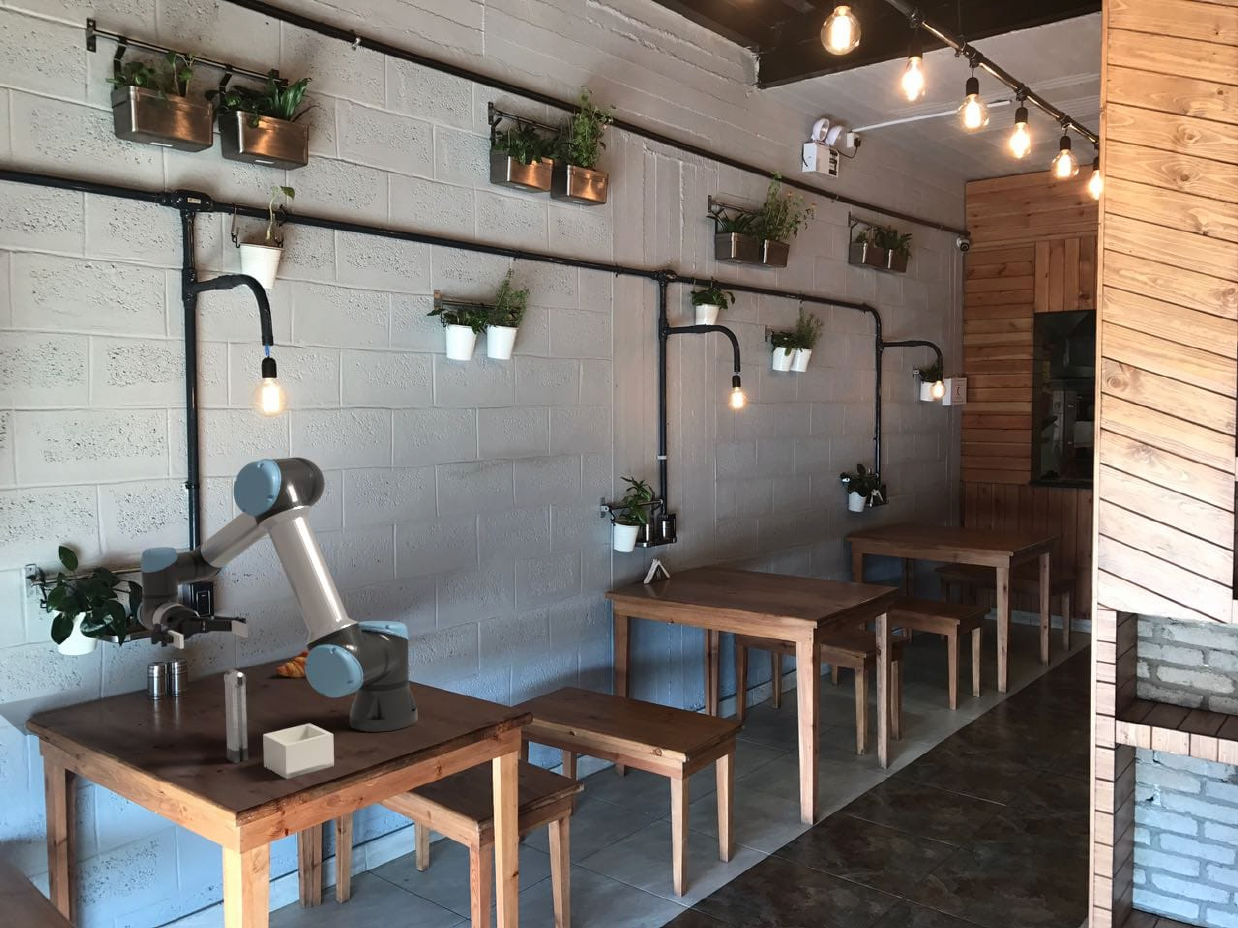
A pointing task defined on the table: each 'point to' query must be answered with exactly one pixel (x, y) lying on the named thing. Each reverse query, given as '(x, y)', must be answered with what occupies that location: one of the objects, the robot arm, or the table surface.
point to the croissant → (294, 666)
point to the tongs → (236, 716)
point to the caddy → (298, 750)
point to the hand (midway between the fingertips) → (214, 636)
